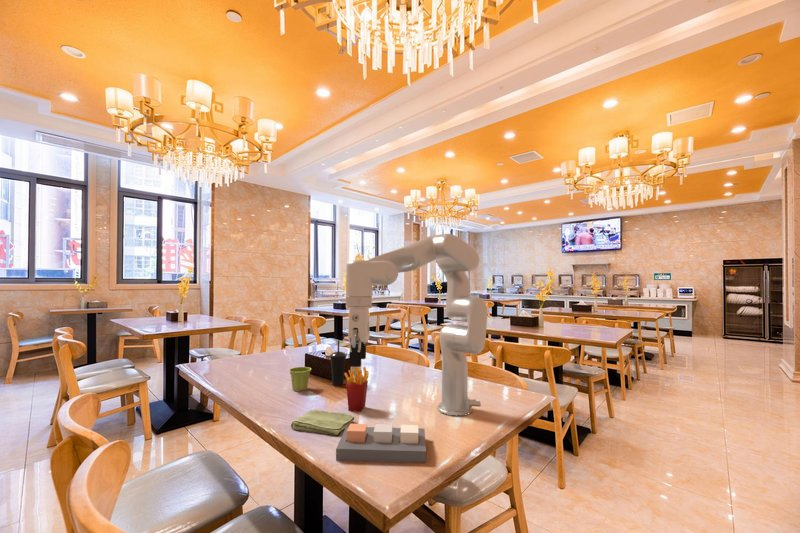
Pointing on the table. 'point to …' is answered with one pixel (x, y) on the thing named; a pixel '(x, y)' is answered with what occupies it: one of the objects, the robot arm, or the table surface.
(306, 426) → the washcloth
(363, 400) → the french fries
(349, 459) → the keypad base
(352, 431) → the terracotta key
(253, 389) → the table surface
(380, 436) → the grey key
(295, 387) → the plant pot
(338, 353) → the drinking cup
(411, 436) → the cream key
